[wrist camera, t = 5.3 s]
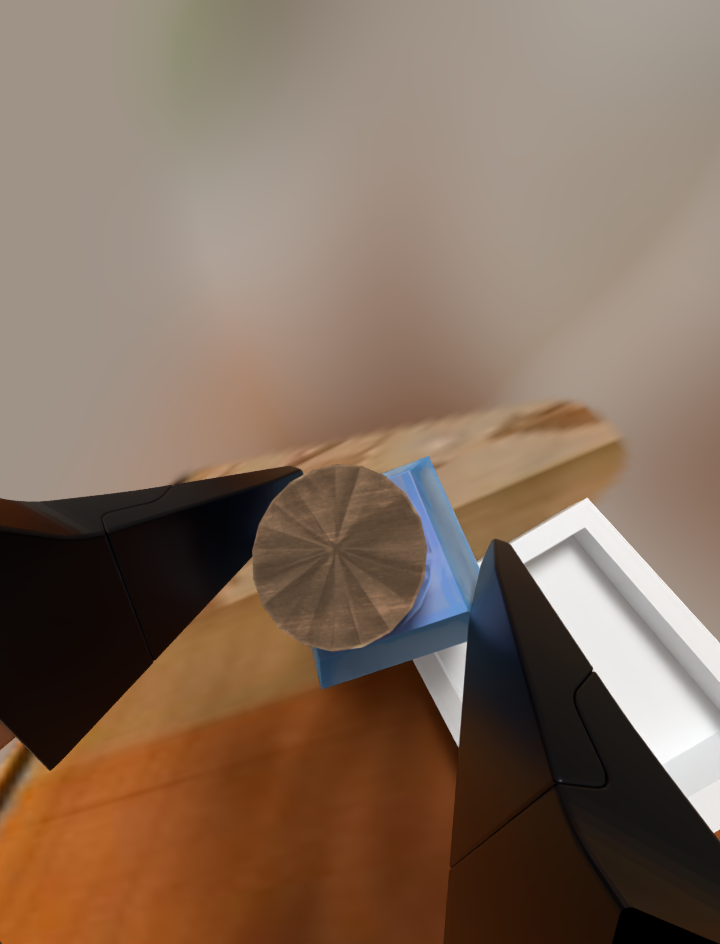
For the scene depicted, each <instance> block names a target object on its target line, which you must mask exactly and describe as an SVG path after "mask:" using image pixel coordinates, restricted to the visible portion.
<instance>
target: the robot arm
mask: <svg viewBox="0 0 720 944" xmlns="http://www.w3.org/2000/svg"><path fill="white" fill-rule="evenodd" d="M302 475H303V471H302V470H301V469H299V468H296V467H293V466H285V467H278V468H272V469H266V470H260V471H254V472H248V473H242V474H236V475H230V476H223V477H217V478H211V479H205V480H199V481H193V482H187V483H181V484H175V485H173V486H172V485H168V486H162V487H156V488H149V489H143V490H136V491H128V492H121V493H113V494H104V495H96V496H87V497H78V498H70V499H61V500H53V501H41V502H25V501H13V500H6V499H1V498H0V750H1V749H2V748H3V747H5V746H6V745H7V744H8V743H9V742H11V741H12V740H13V739H14V738H15V737H16V738H17V739H18V740H19V741H20V742H21V743H22V744H23V745H24V746H25V747H26V748H27V749H28V750H29V751H30V752H31V753H32V754H33V755H34V756H35V757H36V758H37V759H38V760H39V761H40V762H41V763H42V764H43V765H44V766H45V767H46V768H47V769H48V770H52V769H53V768H54V767H55V766H56V765H57V764H58V763H60V761H61V760H62V759H63V758H64V757H65V756H66V755H67V754H68V753H69V752H70V751H71V750H72V749H73V748H74V747H75V746H76V745H77V744H78V742H79V741H80V740H81V739H82V738H83V737H84V736H85V735H86V734H87V733H88V732H89V731H90V730H91V729H92V728H93V726H94V725H95V724H96V723H97V722H98V721H99V720H100V719H101V718H102V717H103V716H104V715H105V714H106V713H107V712H108V710H109V709H110V708H111V707H112V706H113V705H114V704H115V703H116V702H117V701H118V700H119V699H120V698H121V697H122V696H123V694H124V693H125V692H126V691H127V690H128V689H129V688H130V687H131V686H132V685H133V684H134V683H135V682H136V681H137V680H138V678H139V677H140V676H141V675H142V674H143V673H144V672H145V671H146V670H147V669H148V668H149V667H150V666H151V665H152V663H153V661H154V660H156V659H157V658H158V657H159V656H160V655H161V654H162V652H163V651H164V650H165V649H166V648H167V647H168V646H169V645H170V644H171V643H172V642H173V641H174V640H175V639H176V638H177V636H178V635H179V634H180V633H181V632H182V631H183V630H184V629H185V628H186V627H187V626H188V625H189V624H190V623H191V622H192V620H193V619H194V618H195V617H196V616H197V615H198V614H199V613H200V612H201V611H202V610H203V609H204V608H205V607H206V605H207V604H208V603H209V602H210V601H211V600H212V599H213V598H214V597H215V596H216V595H217V594H218V593H219V592H220V591H221V589H222V588H223V587H224V586H225V585H226V584H227V583H228V582H229V581H230V580H231V579H232V578H233V577H234V576H235V575H236V573H237V572H238V571H239V570H240V569H241V568H242V567H243V566H244V565H245V564H246V563H247V562H248V561H249V560H250V558H251V557H252V556H253V555H252V550H253V546H254V542H255V538H256V534H257V530H258V526H259V523H260V521H261V520H262V518H263V516H264V514H265V512H266V511H267V509H268V507H269V505H270V504H271V502H272V500H273V499H274V498H275V497H276V496H277V495H278V494H279V493H280V492H281V491H282V490H283V489H284V488H285V487H286V486H287V485H288V484H289V483H290V482H292V481H293V480H295V479H297V478H299V477H301V476H302ZM592 671H593V667H592V665H591V664H590V662H589V661H588V659H587V658H586V656H585V655H584V653H583V652H582V650H581V649H580V647H579V646H578V644H577V643H576V641H575V640H574V638H573V637H572V635H571V634H570V632H569V631H568V629H567V628H566V626H565V625H564V623H563V622H562V620H561V619H560V617H559V616H558V614H557V613H556V611H555V610H554V608H553V607H552V605H551V604H550V602H549V601H548V599H547V598H546V596H545V595H544V593H543V592H542V590H541V589H540V587H539V586H538V584H537V583H536V581H535V580H534V578H533V577H532V575H531V574H530V572H529V571H528V569H527V568H526V566H525V565H524V563H523V562H522V560H521V559H520V557H519V556H518V554H517V553H516V551H515V550H514V548H513V547H512V546H511V544H509V543H507V542H504V541H501V540H498V539H493V540H492V541H491V543H490V545H489V547H488V550H487V552H486V554H485V556H484V558H483V561H482V563H481V566H480V570H479V575H478V579H477V584H476V588H475V593H474V598H473V602H472V607H471V612H470V617H469V624H468V635H467V648H466V661H465V674H464V687H463V700H462V713H461V726H460V739H459V752H458V765H457V778H456V791H455V804H454V817H453V830H452V843H451V856H450V867H451V869H450V870H449V880H448V893H447V906H446V919H445V932H444V944H720V841H719V839H718V838H717V837H716V835H715V834H714V833H713V832H712V830H711V829H710V828H709V826H708V825H707V824H706V822H705V821H704V820H703V818H702V817H701V816H700V814H699V813H698V812H697V811H696V809H695V808H694V807H693V805H692V804H691V803H690V801H689V800H688V799H687V797H686V796H685V795H684V793H683V792H682V791H681V790H680V788H679V787H678V786H677V784H676V783H675V782H674V780H673V779H672V778H671V776H670V775H669V774H668V772H667V771H666V770H665V769H664V767H663V766H662V764H661V763H660V762H659V760H658V759H657V758H656V756H655V755H654V754H653V752H652V751H651V750H650V748H649V747H648V746H647V744H646V743H645V742H644V740H643V739H642V738H641V736H640V735H639V733H638V732H637V731H636V729H635V728H634V727H633V725H632V724H631V722H630V721H629V720H628V718H627V717H626V715H625V714H624V712H623V711H622V709H621V708H620V707H619V705H618V704H617V702H616V701H615V699H614V698H613V696H612V695H611V694H610V692H609V691H608V689H607V688H606V686H605V685H604V683H603V682H602V680H601V679H600V677H599V676H598V674H597V673H596V672H594V671H593V672H592ZM0 944H1V942H0Z"/></svg>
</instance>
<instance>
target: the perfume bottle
mask: <svg viewBox="0 0 720 944" xmlns="http://www.w3.org/2000/svg"><path fill="white" fill-rule="evenodd" d="M252 555H253V579H254V582H255V585H256V588H257V591H258V594H259V597H260V600H261V603H262V606H263V607H264V609H265V610H266V611H267V613H268V614H269V615H270V617H271V618H272V619H273V621H274V622H275V623H276V625H277V626H278V627H279V629H281V630H282V631H284V632H285V633H287V634H288V635H290V636H291V637H293V638H294V639H296V640H297V641H299V642H300V643H302V644H303V645H306V646H311V647H312V650H313V655H314V659H315V664H316V668H317V672H318V677H319V681H320V686H321V689H325V688H328V687H331V686H334V685H337V684H340V683H343V682H346V681H349V680H352V679H355V678H358V677H361V676H364V675H367V674H370V673H373V672H376V671H379V670H382V669H385V668H389V667H392V666H395V665H398V664H401V663H404V662H407V661H410V660H413V659H416V658H419V657H422V656H425V655H428V654H431V653H434V652H437V651H440V650H443V649H446V648H449V647H453V646H456V645H459V644H462V643H465V642H467V635H468V624H469V617H470V612H471V607H472V602H473V598H474V593H475V588H476V584H477V579H478V575H479V570H480V568H479V566H478V564H477V562H476V559H475V557H474V555H473V553H472V551H471V548H470V546H469V544H468V542H467V540H466V537H465V535H464V533H463V531H462V529H461V526H460V524H459V522H458V520H457V518H456V515H455V513H454V511H453V509H452V507H451V504H450V502H449V500H448V498H447V495H446V493H445V491H444V489H443V487H442V484H441V482H440V480H439V478H438V476H437V473H436V471H435V469H434V467H433V465H432V462H431V460H430V458H429V456H427V457H425V458H422V459H419V460H417V461H414V462H412V463H409V464H406V465H404V466H401V467H398V468H396V469H393V470H390V471H388V472H385V473H382V474H379V473H377V472H375V471H372V470H370V469H367V468H365V467H363V466H353V465H340V464H336V465H331V466H327V467H323V468H318V469H314V470H311V471H310V472H308V473H306V474H304V475H302V476H301V477H299V478H297V479H295V480H293V481H292V482H290V483H289V484H288V485H287V486H286V487H285V488H284V489H283V490H282V491H281V492H280V493H279V494H278V495H277V496H276V497H275V498H274V499H273V500H272V502H271V504H270V505H269V507H268V509H267V511H266V512H265V514H264V516H263V518H262V520H261V521H260V523H259V526H258V530H257V534H256V538H255V542H254V546H253V550H252Z"/></svg>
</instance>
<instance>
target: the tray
mask: <svg viewBox="0 0 720 944" xmlns="http://www.w3.org/2000/svg"><path fill="white" fill-rule="evenodd" d="M508 543H509V544H511V546H512V547H513V548H514V550H515V551H516V553H517V554H518V556H519V557H520V559H521V560H522V562H523V563H524V565H525V566H526V568H527V569H528V571H529V572H530V574H531V575H532V577H533V578H534V580H535V581H536V583H537V584H538V586H539V587H540V589H541V590H542V592H543V593H544V595H545V596H546V598H547V599H548V601H549V602H550V604H551V605H552V607H553V608H554V610H555V611H556V613H557V614H558V616H559V617H560V619H561V620H562V622H563V623H564V625H565V626H566V628H567V629H568V631H569V632H570V634H571V635H572V637H573V638H574V640H575V641H576V643H577V644H578V646H579V647H580V649H581V650H582V652H583V653H584V655H585V656H586V658H587V659H588V661H589V662H590V664H591V665H592V667H593V671H594V672H596V673H597V674H598V676H599V677H600V679H601V680H602V682H603V683H604V685H605V686H606V688H607V689H608V691H609V692H610V694H611V695H612V696H613V698H614V699H615V701H616V702H617V704H618V705H619V707H620V708H621V709H622V711H623V712H624V714H625V715H626V717H627V718H628V720H629V721H630V722H631V724H632V725H633V727H634V728H635V729H636V731H637V732H638V733H639V735H640V736H641V738H642V739H643V740H644V742H645V743H646V744H647V746H648V747H649V748H650V750H651V751H652V752H653V754H654V755H655V756H656V758H657V759H658V760H659V762H660V763H661V764H662V766H663V767H664V769H665V770H666V771H667V772H668V774H669V775H670V776H671V778H672V779H673V780H674V782H675V783H676V784H677V786H678V787H679V788H680V790H681V791H682V792H683V793H684V795H685V796H686V797H687V799H688V800H689V801H690V803H691V804H692V805H693V807H694V808H695V809H696V811H697V812H698V813H699V814H700V816H701V817H702V818H703V820H704V821H705V822H706V824H707V825H708V826H709V828H710V829H711V830H712V832H713V833H714V832H716V831H718V830H719V829H720V643H719V642H718V641H717V640H716V639H715V637H714V636H712V634H711V633H710V632H709V631H708V630H707V629H706V628H705V626H704V625H703V624H702V623H701V622H700V621H699V620H698V619H697V618H696V617H695V616H694V614H693V613H692V612H691V611H690V610H689V609H688V608H687V607H686V606H685V605H684V603H683V602H682V601H681V600H680V599H679V598H678V597H677V596H676V595H675V594H674V593H673V591H672V590H671V589H670V588H669V587H668V586H667V585H666V584H665V583H664V582H663V580H662V579H661V578H660V577H659V576H658V575H657V574H656V573H655V572H654V571H653V570H652V568H651V567H650V566H649V565H648V564H647V563H646V562H645V561H644V560H643V559H642V557H641V556H640V555H639V554H638V553H637V552H636V551H635V550H634V549H633V547H632V546H631V545H630V544H629V543H628V542H627V541H626V540H625V539H624V538H623V536H621V534H620V533H619V532H618V531H617V530H616V529H615V528H614V527H613V526H612V524H611V523H610V522H609V521H608V520H607V519H606V518H605V517H604V516H603V515H602V513H601V512H600V511H599V510H598V509H597V508H596V507H595V506H594V505H593V504H592V502H591V501H590V500H589V499H588V498H586V499H584V500H582V501H580V502H578V503H575V504H573V505H571V506H569V507H567V508H565V509H563V510H561V511H560V512H558V513H556V514H555V515H553V516H551V517H550V518H548V519H546V520H545V521H543V522H541V523H540V524H538V525H536V526H535V527H533V528H531V529H530V530H528V531H526V532H525V533H523V534H521V535H519V536H518V537H516V538H514V539H513V540H511V541H509V542H508ZM483 558H484V557H483ZM483 558H481V559H479V560H478V561H476V562H477V564H478V566H479V568H480V566H481V563H482V561H483ZM466 648H467V642H465V643H462V644H459V645H456V646H453V647H449V648H446V649H443V650H440V651H437V652H434V653H431V654H428V655H425V656H422V657H419V658H416V659H413V662H414V664H415V666H416V668H417V669H418V671H419V673H420V675H421V677H422V679H423V681H424V683H425V685H426V687H427V688H428V690H429V692H430V694H431V696H432V698H433V700H434V702H435V704H436V706H437V708H438V709H439V711H440V713H441V715H442V717H443V719H444V721H445V723H446V725H447V727H448V728H449V730H450V732H451V734H452V736H453V738H454V740H455V742H456V744H457V746H458V748H459V739H460V726H461V713H462V700H463V687H464V674H465V661H466ZM593 671H592V672H593Z"/></svg>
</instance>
